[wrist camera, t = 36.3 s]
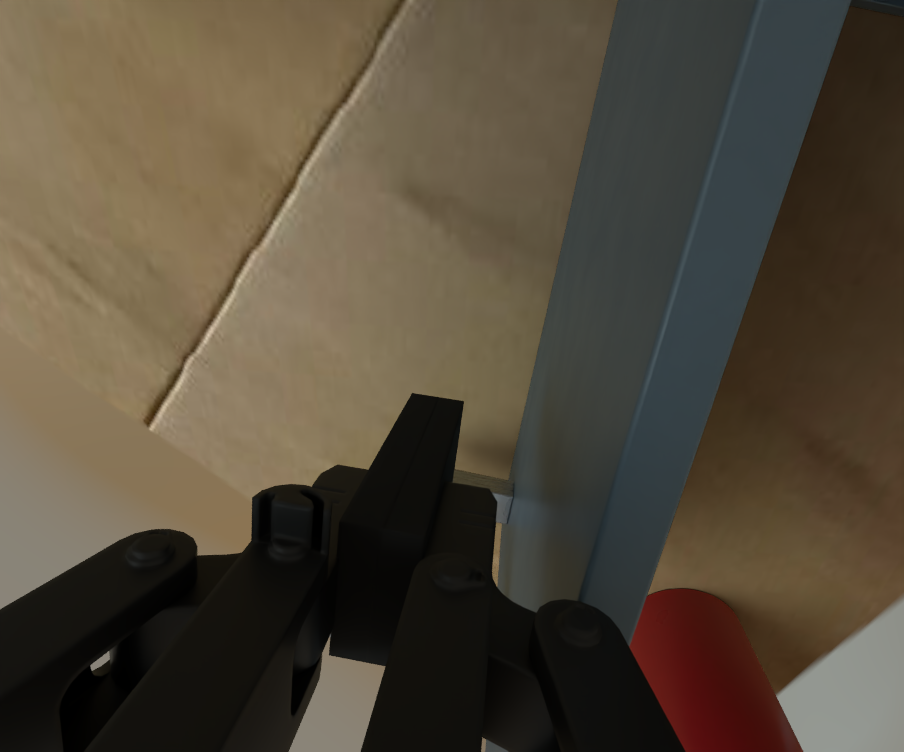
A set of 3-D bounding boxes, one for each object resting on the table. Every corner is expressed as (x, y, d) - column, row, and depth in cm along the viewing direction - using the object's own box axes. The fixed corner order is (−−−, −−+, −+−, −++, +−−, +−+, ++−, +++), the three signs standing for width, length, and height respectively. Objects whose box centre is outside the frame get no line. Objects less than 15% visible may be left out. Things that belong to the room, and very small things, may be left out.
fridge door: (406, 479, 31) (231, 908, 12) (491, -40, 23) (357, -897, 5) (522, 504, 30) (515, 984, 12) (647, -15, 23) (1145, -840, 4)
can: (619, 585, 31) (673, 818, 20) (748, 590, 30) (884, 836, 19) (614, 682, 33) (661, 944, 22) (736, 689, 32) (851, 966, 21)
